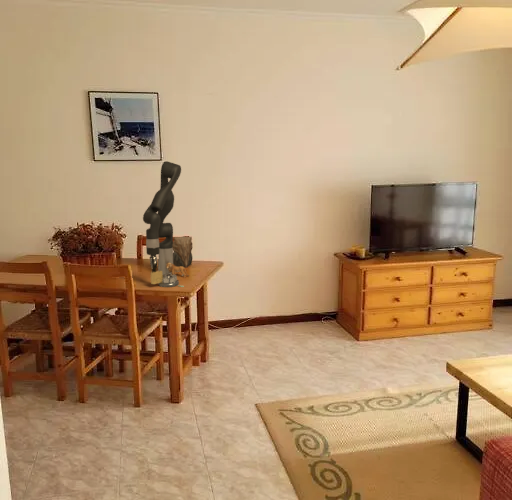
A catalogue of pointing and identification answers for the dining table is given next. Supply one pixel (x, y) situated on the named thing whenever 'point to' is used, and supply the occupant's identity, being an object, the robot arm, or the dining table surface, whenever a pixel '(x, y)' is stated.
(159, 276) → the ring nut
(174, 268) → the lion figurine
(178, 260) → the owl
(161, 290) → the dining table surface
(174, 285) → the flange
